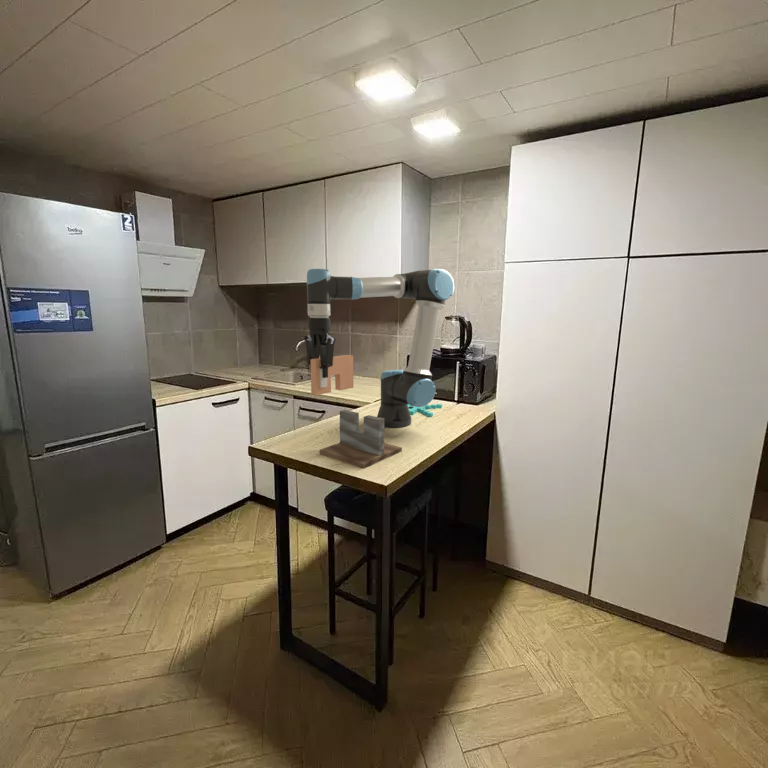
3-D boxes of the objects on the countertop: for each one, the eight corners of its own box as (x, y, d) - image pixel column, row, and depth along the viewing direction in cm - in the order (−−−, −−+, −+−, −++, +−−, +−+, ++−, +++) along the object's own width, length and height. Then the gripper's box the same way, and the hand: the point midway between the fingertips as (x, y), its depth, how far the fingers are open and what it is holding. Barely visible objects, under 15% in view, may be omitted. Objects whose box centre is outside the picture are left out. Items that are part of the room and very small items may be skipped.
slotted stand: (359, 439, 158) (359, 404, 156) (401, 451, 146) (402, 413, 143) (319, 453, 143) (319, 415, 140) (363, 468, 130) (363, 426, 128)
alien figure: (441, 408, 209) (404, 404, 216) (442, 404, 209) (404, 400, 216) (431, 418, 191) (390, 413, 198) (431, 413, 190) (390, 409, 198)
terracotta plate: (348, 386, 156) (348, 354, 154) (353, 387, 155) (353, 355, 152) (311, 394, 143) (310, 359, 140) (316, 395, 141) (315, 360, 139)
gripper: (295, 316, 141) (297, 384, 146) (326, 317, 131) (327, 391, 136) (312, 316, 147) (313, 382, 151) (343, 317, 137) (344, 387, 142)
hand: (320, 386), depth 144 cm, fingers closed on terracotta plate, 2 cm apart
